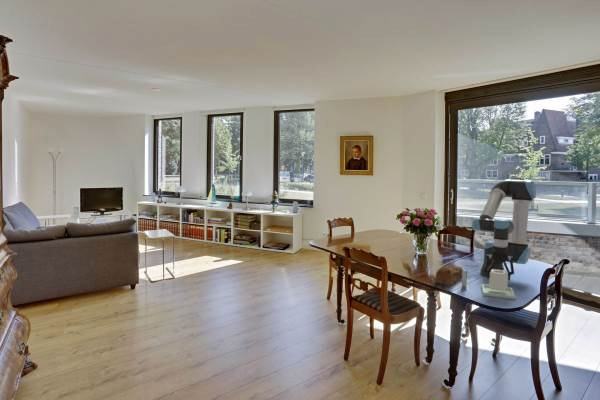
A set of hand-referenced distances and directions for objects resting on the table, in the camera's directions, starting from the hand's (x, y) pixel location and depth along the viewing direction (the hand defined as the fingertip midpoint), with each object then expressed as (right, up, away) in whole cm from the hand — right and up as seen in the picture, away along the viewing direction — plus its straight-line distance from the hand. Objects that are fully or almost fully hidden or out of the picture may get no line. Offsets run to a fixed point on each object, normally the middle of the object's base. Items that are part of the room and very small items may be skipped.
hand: (498, 284), depth 220 cm
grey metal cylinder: (-17, -4, +8) cm, 19 cm away
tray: (0, -5, +1) cm, 5 cm away
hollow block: (0, -2, 0) cm, 2 cm away
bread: (-20, -3, +23) cm, 30 cm away
